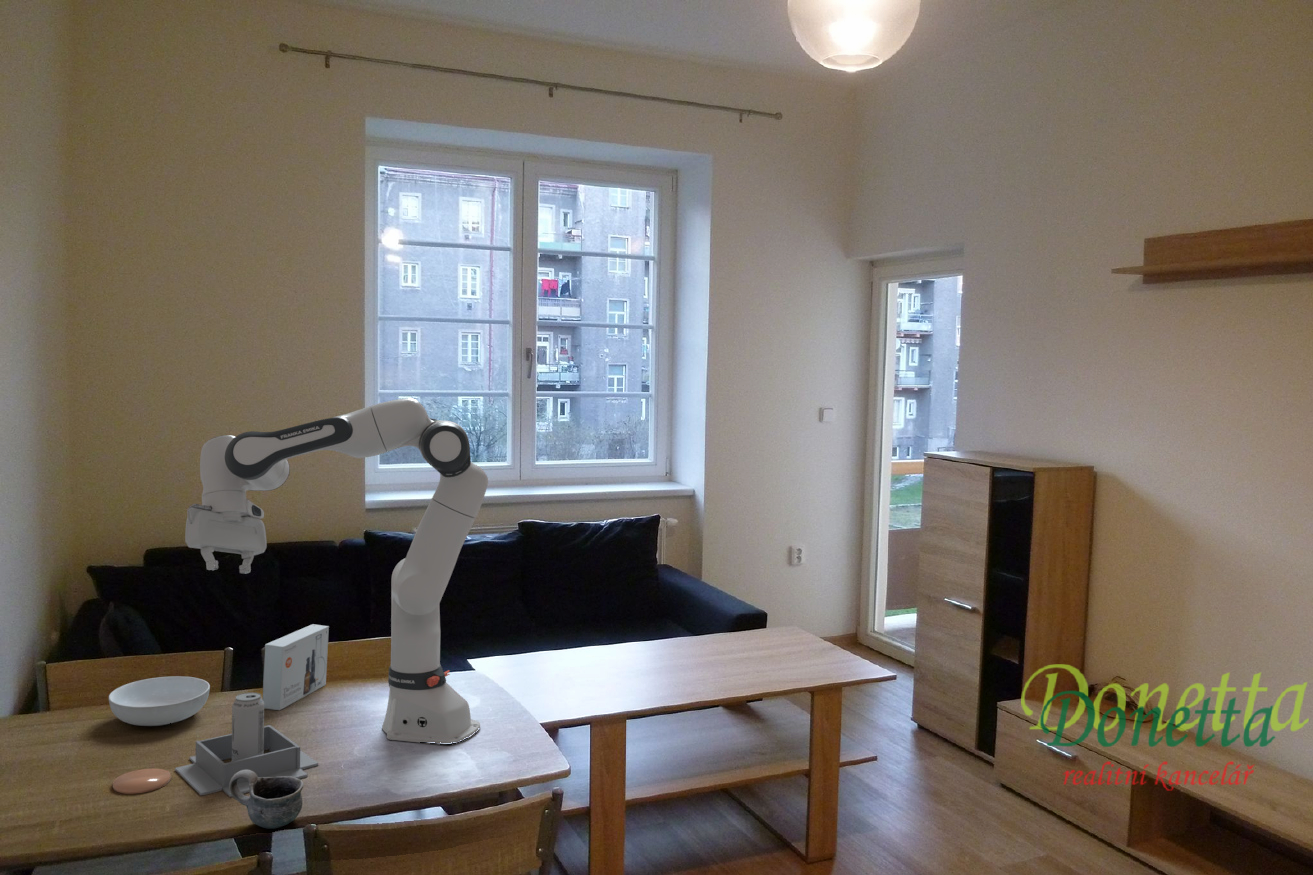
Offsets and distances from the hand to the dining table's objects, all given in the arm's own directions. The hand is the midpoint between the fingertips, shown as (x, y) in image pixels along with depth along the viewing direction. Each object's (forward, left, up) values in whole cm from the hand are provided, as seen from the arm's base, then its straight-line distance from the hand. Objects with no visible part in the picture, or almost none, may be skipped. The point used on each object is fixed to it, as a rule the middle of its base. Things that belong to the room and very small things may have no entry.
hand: (229, 571), depth 205 cm
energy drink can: (-12, +7, -39) cm, 41 cm away
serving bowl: (+26, -7, -39) cm, 47 cm away
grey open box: (-12, +7, -38) cm, 41 cm away
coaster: (+1, +21, -38) cm, 44 cm away
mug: (-33, +25, -39) cm, 56 cm away
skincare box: (+9, -32, -39) cm, 51 cm away
